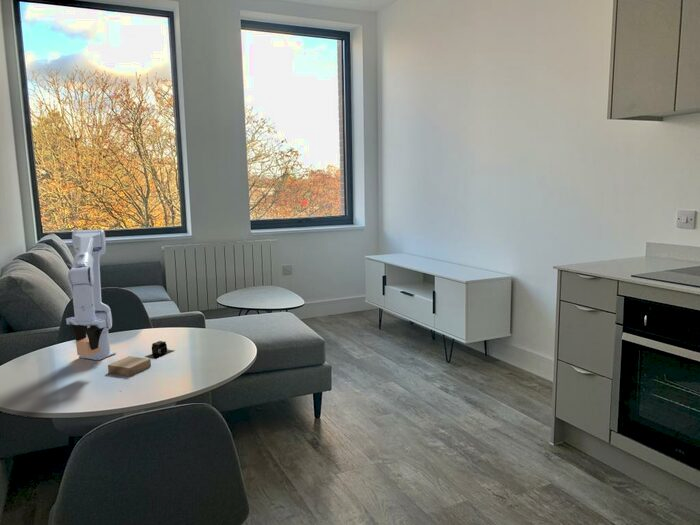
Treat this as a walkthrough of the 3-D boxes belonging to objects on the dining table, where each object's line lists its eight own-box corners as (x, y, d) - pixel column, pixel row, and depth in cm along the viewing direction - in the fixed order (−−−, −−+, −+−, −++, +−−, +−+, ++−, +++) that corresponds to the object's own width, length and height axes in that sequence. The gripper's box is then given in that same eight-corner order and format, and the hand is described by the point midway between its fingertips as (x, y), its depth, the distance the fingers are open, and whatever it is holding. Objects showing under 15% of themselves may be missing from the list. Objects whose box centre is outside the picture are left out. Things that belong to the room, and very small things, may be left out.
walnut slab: (108, 374, 172) (107, 365, 171) (130, 364, 180) (129, 356, 179) (130, 377, 168) (129, 368, 168) (151, 367, 176) (150, 359, 176)
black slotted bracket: (154, 362, 182) (153, 349, 181) (138, 359, 185) (137, 346, 185) (180, 351, 193) (179, 338, 193) (164, 348, 196) (163, 336, 196)
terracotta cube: (77, 355, 167) (75, 341, 167) (89, 350, 171) (87, 337, 171) (88, 356, 166) (86, 342, 165) (100, 352, 170) (98, 338, 169)
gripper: (55, 306, 165) (60, 349, 167) (90, 310, 160) (95, 354, 162) (75, 301, 172) (79, 342, 174) (109, 305, 166) (113, 347, 168)
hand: (88, 348), depth 168 cm, fingers closed on terracotta cube, 4 cm apart
